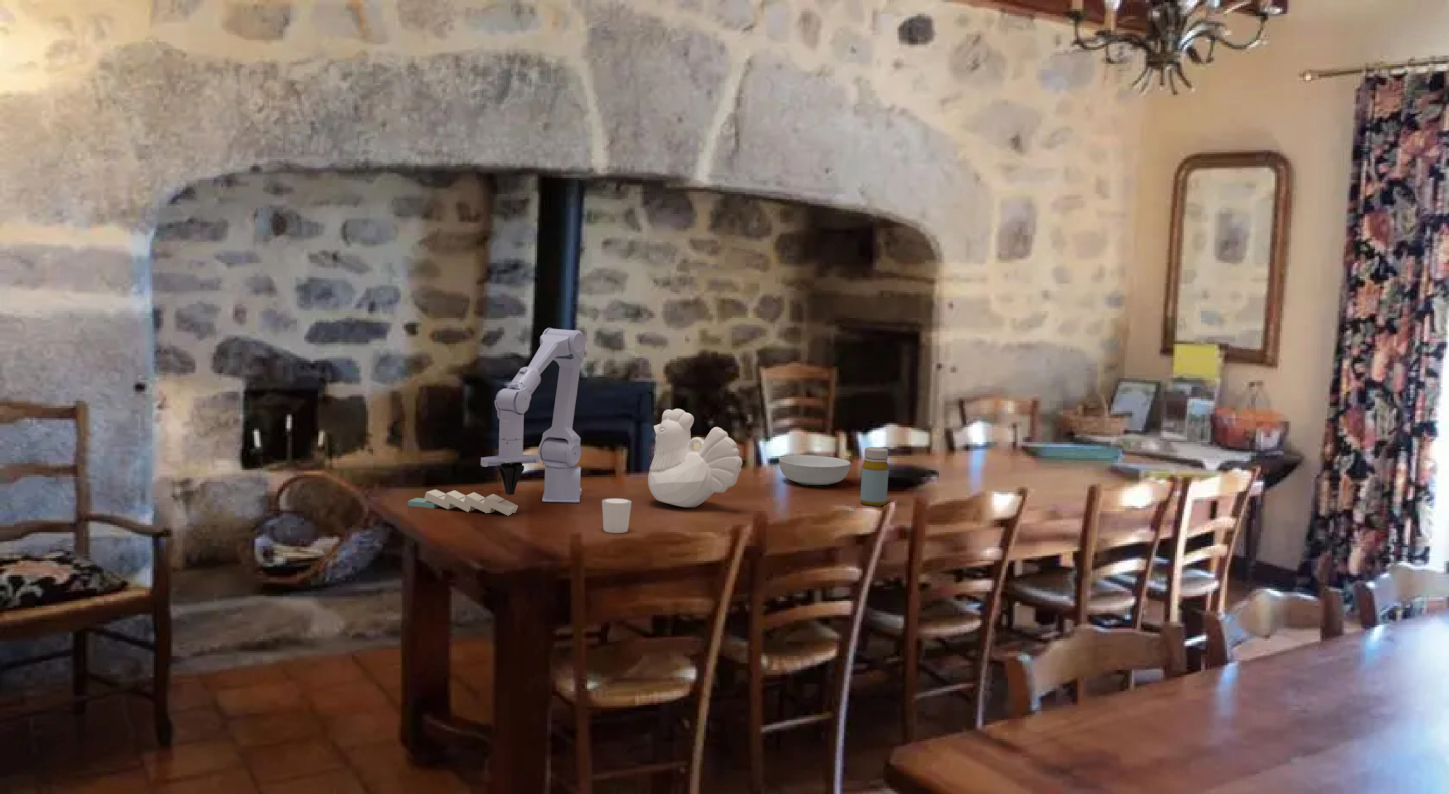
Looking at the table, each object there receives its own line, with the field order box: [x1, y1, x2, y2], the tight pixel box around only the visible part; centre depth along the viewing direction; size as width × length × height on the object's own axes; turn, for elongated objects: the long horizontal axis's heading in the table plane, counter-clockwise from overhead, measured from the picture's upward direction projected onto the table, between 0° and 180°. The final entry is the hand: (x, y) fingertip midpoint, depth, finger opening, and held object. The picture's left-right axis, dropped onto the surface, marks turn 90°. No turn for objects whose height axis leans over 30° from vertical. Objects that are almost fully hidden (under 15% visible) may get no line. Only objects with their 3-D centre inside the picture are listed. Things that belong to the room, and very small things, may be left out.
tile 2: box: [423, 489, 458, 510], centre depth 293 cm, size 2×4×7 cm
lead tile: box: [483, 493, 519, 517], centre depth 289 cm, size 2×4×7 cm
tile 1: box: [407, 497, 440, 509], centre depth 294 cm, size 2×4×7 cm
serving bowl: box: [778, 454, 852, 486], centre depth 347 cm, size 21×21×7 cm
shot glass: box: [601, 497, 632, 534], centre depth 277 cm, size 7×7×7 cm
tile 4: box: [464, 491, 496, 514], centre depth 290 cm, size 2×4×7 cm
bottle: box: [860, 446, 889, 507], centre depth 320 cm, size 7×7×15 cm
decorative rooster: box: [647, 408, 743, 508], centre depth 305 cm, size 25×16×25 cm, turn 54°
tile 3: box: [444, 489, 477, 513], centre depth 291 cm, size 2×4×7 cm
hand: (509, 494), depth 288 cm, fingers closed
